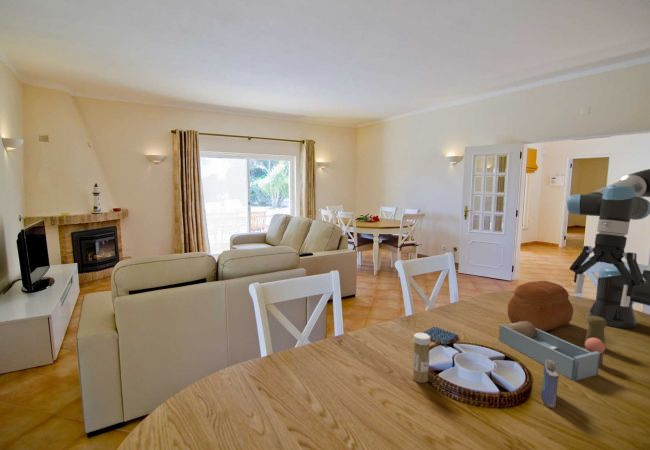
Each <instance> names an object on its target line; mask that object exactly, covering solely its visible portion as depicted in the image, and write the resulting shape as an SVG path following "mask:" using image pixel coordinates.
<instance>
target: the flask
mask: <svg viewBox="0 0 650 450" xmlns="http://www.w3.org/2000/svg"><path fill="white" fill-rule="evenodd" d="M555 365H556V363H555V362H554V361H551V360H548V359H547V360H546V361H545V364H543V376H542V383H541V390H540V396H541V400H542V402H543V404H544V405H545V407H547V408H549V409H553V410H554V409H555V408H556V406H557V405H556V403H557V393H558V385H559V384H558V382H559V373H558V372H557V371H556V370H555Z"/></svg>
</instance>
